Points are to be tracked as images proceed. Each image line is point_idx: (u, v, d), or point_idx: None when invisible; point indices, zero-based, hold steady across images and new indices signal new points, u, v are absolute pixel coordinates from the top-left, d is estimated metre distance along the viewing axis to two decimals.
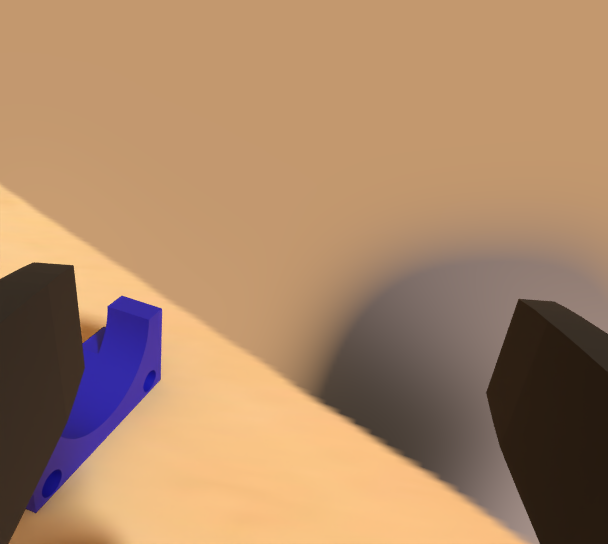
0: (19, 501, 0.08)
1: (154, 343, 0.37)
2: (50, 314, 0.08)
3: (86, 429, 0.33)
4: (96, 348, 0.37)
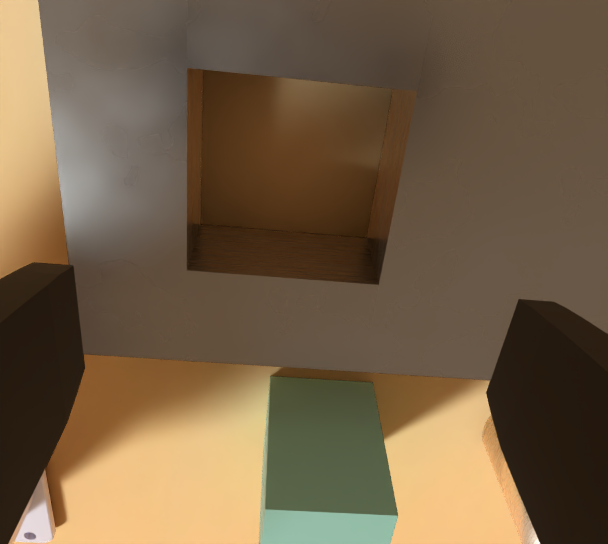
0: (19, 501, 0.08)
1: None
2: (50, 314, 0.08)
3: None
4: None
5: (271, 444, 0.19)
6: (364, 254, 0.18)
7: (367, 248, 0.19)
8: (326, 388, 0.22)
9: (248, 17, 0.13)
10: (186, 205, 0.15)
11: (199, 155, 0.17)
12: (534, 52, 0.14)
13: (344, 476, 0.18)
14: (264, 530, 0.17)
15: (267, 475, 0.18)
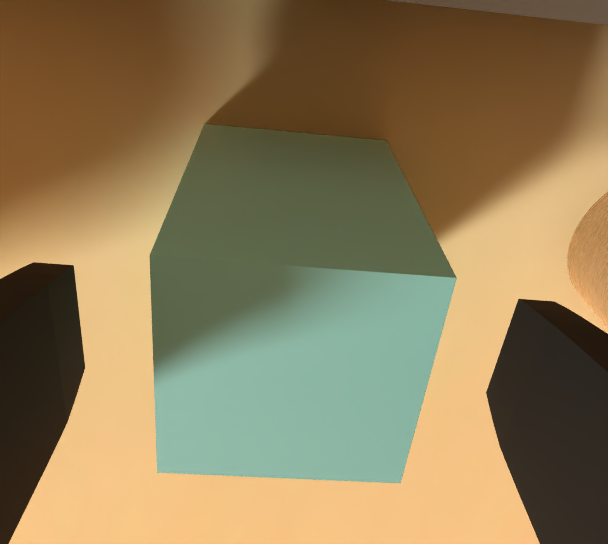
0: (19, 501, 0.08)
1: None
2: (50, 314, 0.08)
3: None
4: None
5: (187, 182, 0.09)
6: None
7: None
8: (303, 139, 0.12)
9: None
10: None
11: None
12: None
13: (335, 225, 0.09)
14: (155, 318, 0.08)
15: (169, 215, 0.08)
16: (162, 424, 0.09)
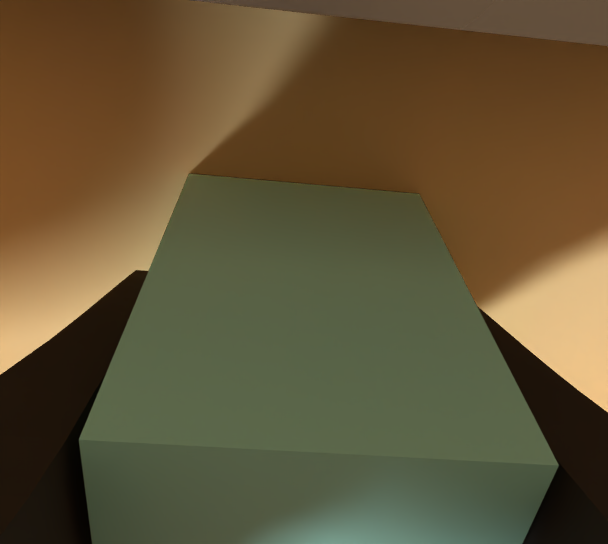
0: None
1: None
2: None
3: None
4: None
5: (155, 279, 0.07)
6: None
7: None
8: (315, 196, 0.09)
9: None
10: None
11: None
12: None
13: (364, 354, 0.06)
14: (94, 518, 0.05)
15: (121, 345, 0.06)
16: None
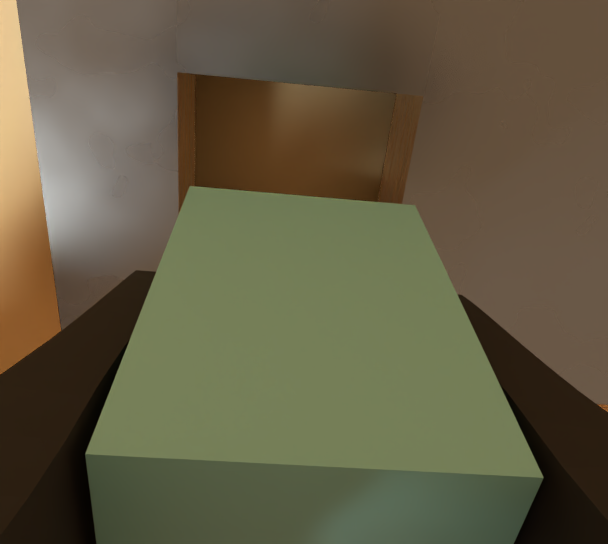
0: None
1: None
2: None
3: None
4: None
5: (158, 294, 0.07)
6: None
7: None
8: (313, 208, 0.10)
9: (242, 18, 0.12)
10: None
11: (192, 163, 0.16)
12: (548, 54, 0.13)
13: (359, 368, 0.06)
14: (99, 527, 0.05)
15: (125, 360, 0.06)
16: None
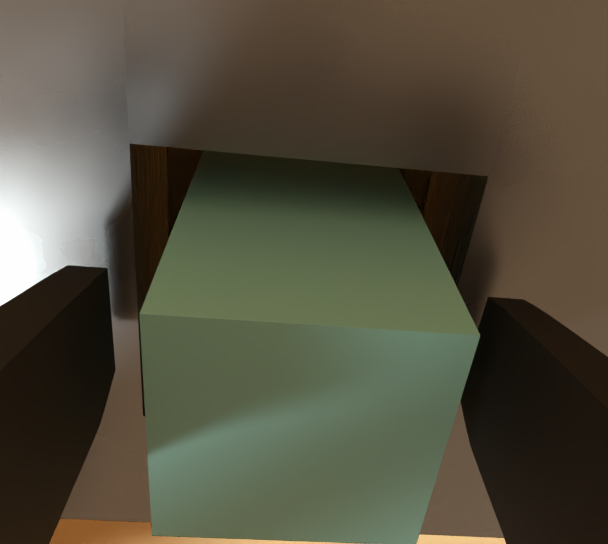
0: (58, 503, 0.08)
1: None
2: (87, 316, 0.08)
3: None
4: None
5: (183, 220, 0.09)
6: None
7: None
8: (309, 165, 0.11)
9: (223, 66, 0.08)
10: (138, 333, 0.10)
11: (163, 244, 0.12)
12: None
13: (343, 269, 0.08)
14: (147, 379, 0.07)
15: (162, 261, 0.08)
16: (157, 487, 0.08)
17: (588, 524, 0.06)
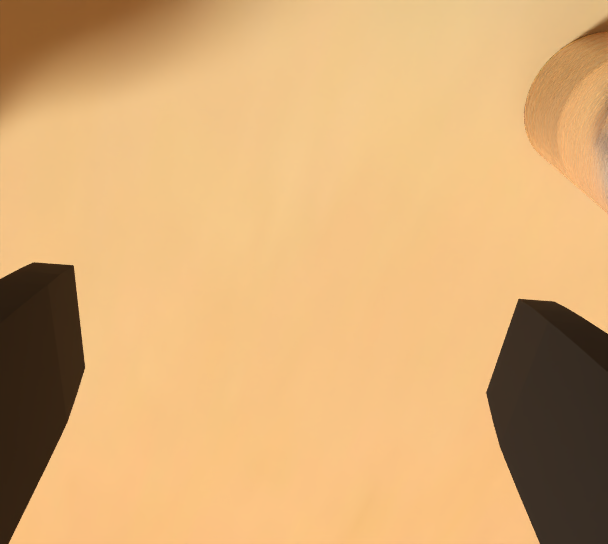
0: (19, 501, 0.08)
1: None
2: (50, 314, 0.08)
3: None
4: None
5: None
6: None
7: None
8: None
9: None
10: None
11: None
12: None
13: None
14: None
15: None
16: None
17: None
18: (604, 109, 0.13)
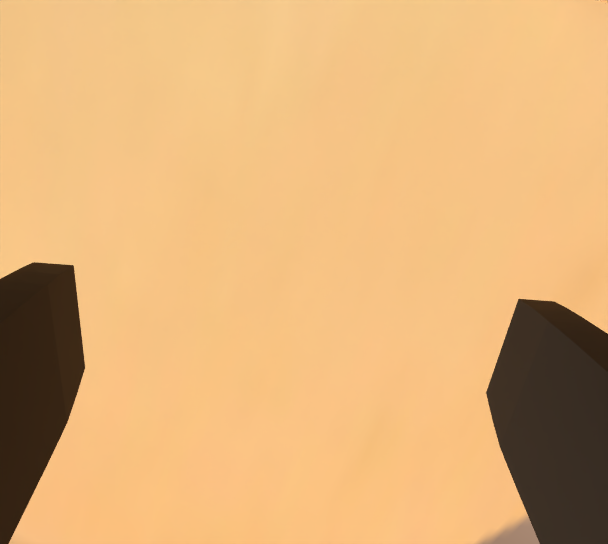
0: (19, 501, 0.08)
1: None
2: (50, 314, 0.08)
3: None
4: None
5: None
6: None
7: None
8: None
9: None
10: None
11: None
12: None
13: None
14: None
15: None
16: None
17: None
18: None
